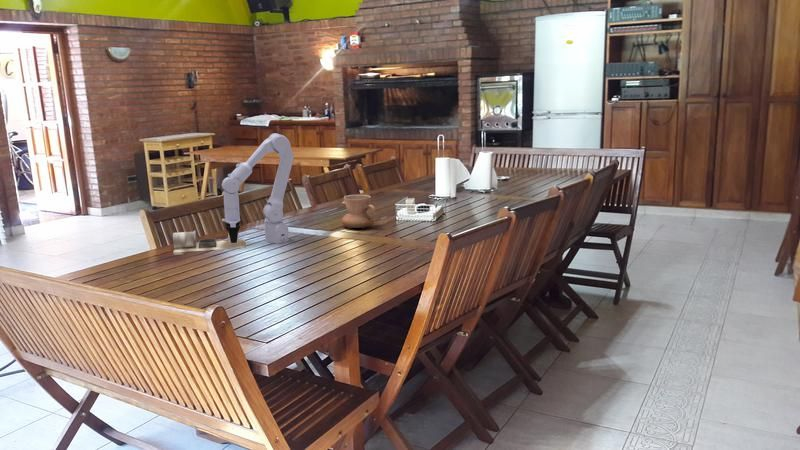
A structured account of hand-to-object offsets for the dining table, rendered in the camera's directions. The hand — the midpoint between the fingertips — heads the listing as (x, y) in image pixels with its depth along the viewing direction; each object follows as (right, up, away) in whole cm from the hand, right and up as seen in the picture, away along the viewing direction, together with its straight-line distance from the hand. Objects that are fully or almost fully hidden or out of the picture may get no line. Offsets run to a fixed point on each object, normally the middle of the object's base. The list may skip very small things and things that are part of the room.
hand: (233, 241), depth 253 cm
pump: (0, -1, 0) cm, 1 cm away
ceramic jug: (+48, +5, +34) cm, 59 cm away
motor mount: (-8, -3, -2) cm, 8 cm away
